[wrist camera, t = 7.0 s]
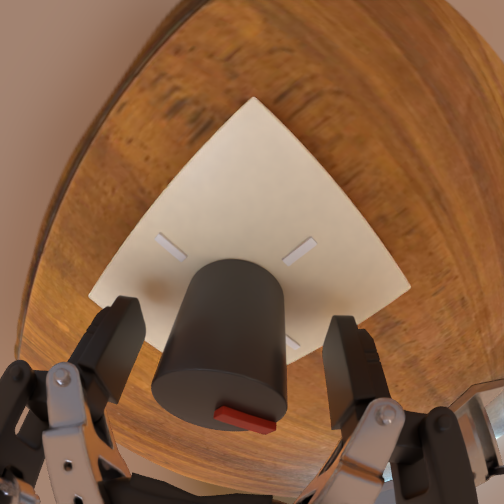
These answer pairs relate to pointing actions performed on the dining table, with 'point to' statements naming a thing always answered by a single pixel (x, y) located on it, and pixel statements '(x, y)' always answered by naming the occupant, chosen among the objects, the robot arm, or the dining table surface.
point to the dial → (227, 351)
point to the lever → (494, 469)
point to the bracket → (478, 427)
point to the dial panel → (256, 235)
